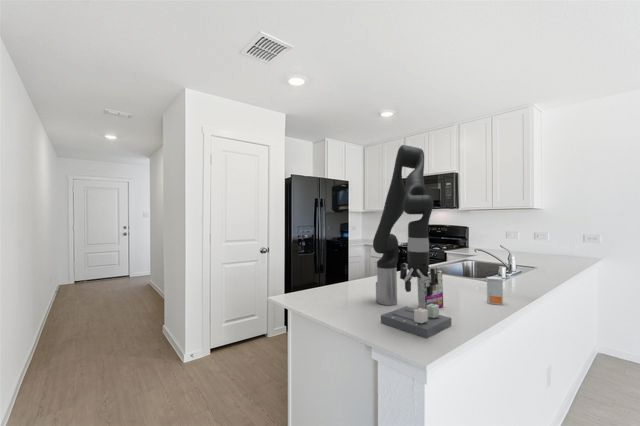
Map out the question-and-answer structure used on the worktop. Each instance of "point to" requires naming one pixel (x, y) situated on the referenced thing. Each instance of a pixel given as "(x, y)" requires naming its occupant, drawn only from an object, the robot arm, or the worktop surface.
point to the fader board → (406, 322)
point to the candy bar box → (435, 297)
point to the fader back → (433, 310)
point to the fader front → (420, 315)
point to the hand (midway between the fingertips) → (418, 293)
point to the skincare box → (495, 290)
